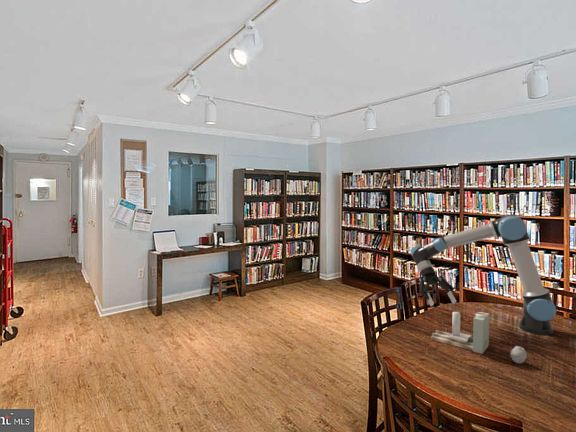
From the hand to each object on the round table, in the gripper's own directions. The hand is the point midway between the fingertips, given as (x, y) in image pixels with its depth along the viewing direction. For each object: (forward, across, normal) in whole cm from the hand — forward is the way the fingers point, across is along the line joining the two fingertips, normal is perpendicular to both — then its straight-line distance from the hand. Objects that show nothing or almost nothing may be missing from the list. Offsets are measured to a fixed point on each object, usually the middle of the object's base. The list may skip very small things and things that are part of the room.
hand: (443, 303), depth 183 cm
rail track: (+18, +1, -5) cm, 19 cm away
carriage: (+19, -2, -1) cm, 19 cm away
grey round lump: (+37, -11, +13) cm, 41 cm away
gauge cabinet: (+25, -6, +2) cm, 26 cm away
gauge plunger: (+24, -6, +3) cm, 25 cm away
